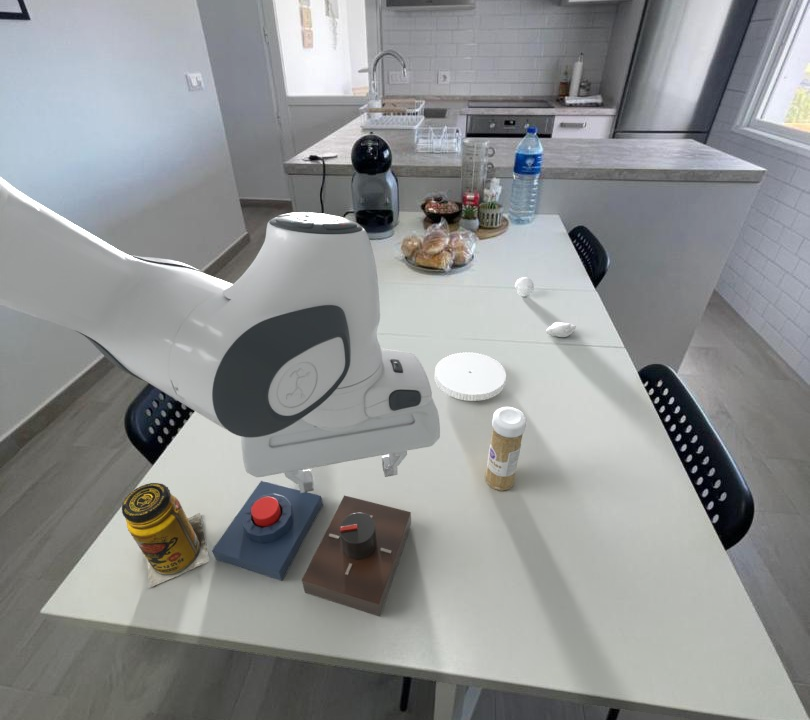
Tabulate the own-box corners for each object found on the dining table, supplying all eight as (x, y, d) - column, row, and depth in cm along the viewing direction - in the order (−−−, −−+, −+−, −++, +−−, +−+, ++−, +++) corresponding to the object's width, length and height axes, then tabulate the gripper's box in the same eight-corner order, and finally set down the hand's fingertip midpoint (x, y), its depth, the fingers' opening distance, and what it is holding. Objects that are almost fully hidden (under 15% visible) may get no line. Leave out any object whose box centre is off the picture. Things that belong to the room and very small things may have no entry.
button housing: (282, 581, 57) (276, 564, 55) (215, 560, 60) (207, 542, 57) (323, 505, 66) (319, 487, 64) (264, 489, 69) (258, 472, 67)
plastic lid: (451, 355, 97) (451, 345, 96) (513, 373, 92) (515, 363, 90) (422, 391, 87) (422, 381, 86) (490, 413, 82) (492, 403, 80)
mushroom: (509, 294, 120) (512, 277, 117) (522, 289, 122) (524, 272, 120) (524, 301, 117) (526, 284, 114) (536, 296, 119) (539, 278, 116)
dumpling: (553, 345, 101) (551, 329, 99) (543, 336, 105) (541, 321, 103) (582, 336, 101) (581, 320, 99) (571, 328, 106) (570, 313, 104)
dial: (374, 526, 60) (372, 508, 58) (378, 556, 56) (377, 538, 54) (341, 531, 59) (338, 513, 57) (343, 562, 56) (340, 545, 54)
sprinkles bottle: (478, 477, 70) (486, 413, 62) (500, 464, 72) (510, 401, 64) (498, 497, 67) (509, 432, 59) (520, 483, 69) (533, 419, 61)
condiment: (149, 588, 57) (112, 533, 50) (146, 535, 63) (112, 479, 56) (210, 562, 59) (182, 506, 52) (200, 514, 65) (174, 458, 58)
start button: (272, 530, 59) (269, 522, 58) (248, 523, 60) (245, 515, 59) (285, 507, 62) (283, 500, 61) (262, 501, 63) (260, 493, 62)
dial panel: (380, 616, 53) (378, 603, 51) (305, 592, 56) (301, 579, 54) (411, 524, 63) (410, 511, 62) (346, 507, 66) (344, 494, 64)
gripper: (220, 424, 38) (253, 521, 46) (448, 388, 42) (442, 484, 50) (226, 380, 43) (255, 474, 51) (429, 351, 47) (427, 444, 55)
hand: (349, 479), depth 51 cm, fingers open, 8 cm apart
